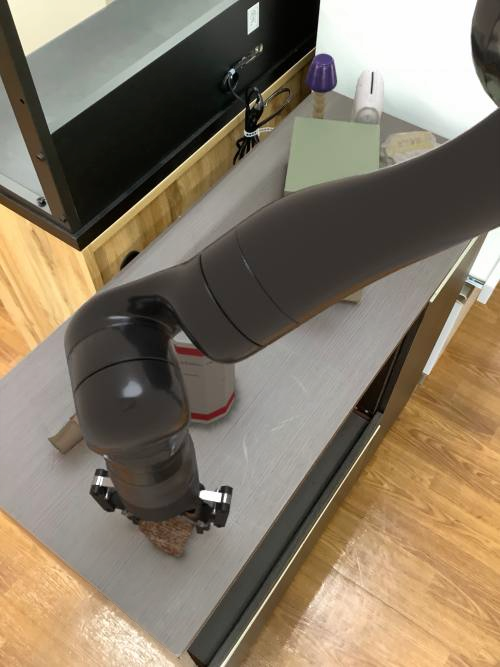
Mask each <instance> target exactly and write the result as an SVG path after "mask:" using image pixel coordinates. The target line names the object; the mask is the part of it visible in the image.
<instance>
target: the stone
mask: <svg viewBox="0 0 500 667" xmlns="http://www.w3.org/2000/svg"><path fill="white" fill-rule="evenodd" d="M137 526H138V527H137V528H138V531H140V532H141V533H142V534H143V535H144V536H145V537H146V538H147V539H148V541H149V542H150V543H152V545H154V546H155V548H157V549H159V550H161V551H162V552H163V553H166V554H167V555H169V556H172V557H181V556H182V554H183V552H184V550H185V548H186V545H187V544H188V541H189V539H190V537H191V534H192V532H193V530H194V528H195V524H194V523H184V522H182V521H181V520H179V519H177V518H176V517H174V518H172V519H169V520H166V521H161V522H151V521H145V520H142V519H140V518H139V523H138V525H137Z"/></svg>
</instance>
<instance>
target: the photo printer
mask: <svg viewBox="0 0 500 667" xmlns="http://www.w3.org/2000/svg"><path fill="white" fill-rule="evenodd" d="M384 98H385V81H384V77H383V74H382V73H381V72H380V70H378V68H377V69H376V68H373V69H372V68H371V67H370V68H365V69H364V70H363V71H362V72H361V73H360V75H359V76H358V78H357V82H356V86H355V92H354V98H353V103H352V107H351V113H350V118H349V122H354V123H363V124H373V125H380V122H381V117H382V112H383V109H384V108H383V107H384Z"/></svg>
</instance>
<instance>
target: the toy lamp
mask: <svg viewBox="0 0 500 667" xmlns="http://www.w3.org/2000/svg"><path fill="white" fill-rule="evenodd" d="M305 85H306V87H307V88H308V89H309V90H310V91H312V92H314V96H313V100H314V101H313V104H312V106H313V110H312V118H315V119H324V117H325V108H326V103H325V102H326V100H327V93H329V92H332V91H333V90H334V89H335V88H336V87H337V85H338V76H337V70H336V63H335V59H334V57H333V56H332V55H331V54H329V53H323V52H322V53H318V54H315V55H314V57H313V58H312V60H311V63H310V66H309V67H308V71H307V74H306V77H305Z"/></svg>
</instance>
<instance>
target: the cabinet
mask: <svg viewBox="0 0 500 667" xmlns="http://www.w3.org/2000/svg"><path fill="white" fill-rule="evenodd" d="M293 119H294V121H293V125H292V126H293V129H292V134H291V140H290V141H291V142H290V148H289V155H288V161H287V170H286V176H285V182H284V189H283V196H286V195H288V194H290V193H293V192H296V191H298V190H301V189H304V188H307V187H310V186H313V185H317V184H321V183H325V182H329V181H333V180H337V179H341V178H346V177H350V176H354V175H359V174H363V173H367V172H370V171H374V170H377V169H379V147H380V146H381V144H380V142H381V140H380V139H381V125H380V124H379V125H373V124H363V123H354V122H350V121H343V120H335V119H334V120H333V119H326V118H325V119H324V118H323V119H315V118H313V117H305V116H296V115H295V116H294V118H293Z"/></svg>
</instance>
